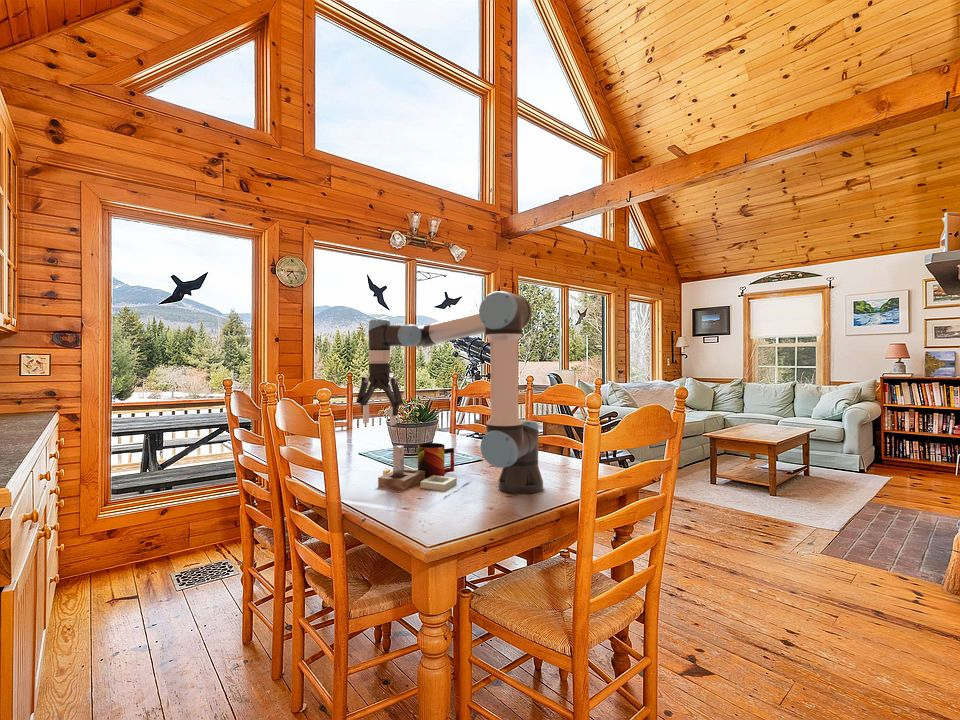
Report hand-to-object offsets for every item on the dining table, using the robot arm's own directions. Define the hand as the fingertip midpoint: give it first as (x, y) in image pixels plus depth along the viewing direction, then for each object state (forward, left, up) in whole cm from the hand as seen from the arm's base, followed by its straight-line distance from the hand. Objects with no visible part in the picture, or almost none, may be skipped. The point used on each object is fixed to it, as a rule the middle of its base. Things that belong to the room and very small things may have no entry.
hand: (379, 423), depth 174 cm
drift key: (-7, 0, -20) cm, 21 cm away
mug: (-16, -11, -20) cm, 28 cm away
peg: (-12, +6, -19) cm, 23 cm away
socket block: (-12, +4, -20) cm, 24 cm away
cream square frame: (-25, +2, -20) cm, 32 cm away
